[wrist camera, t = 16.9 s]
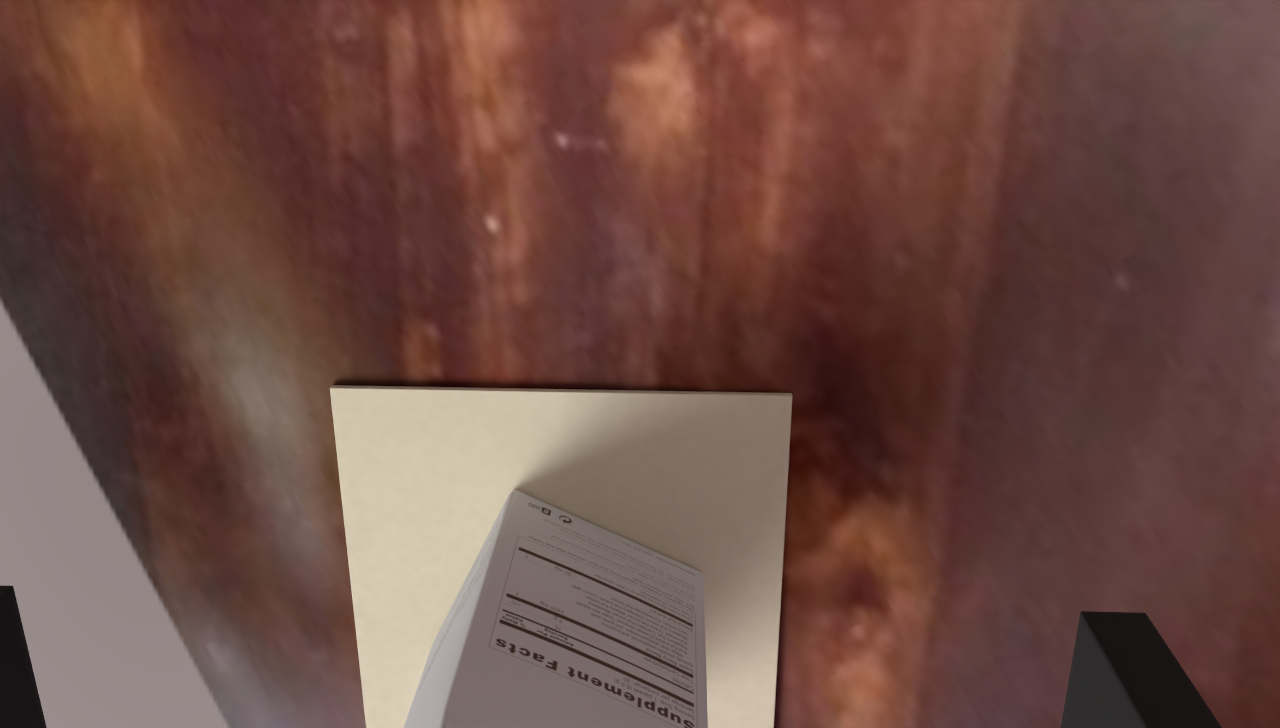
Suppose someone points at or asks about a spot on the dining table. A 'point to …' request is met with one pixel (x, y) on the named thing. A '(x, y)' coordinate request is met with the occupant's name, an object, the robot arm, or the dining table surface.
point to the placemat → (573, 482)
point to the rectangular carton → (567, 632)
